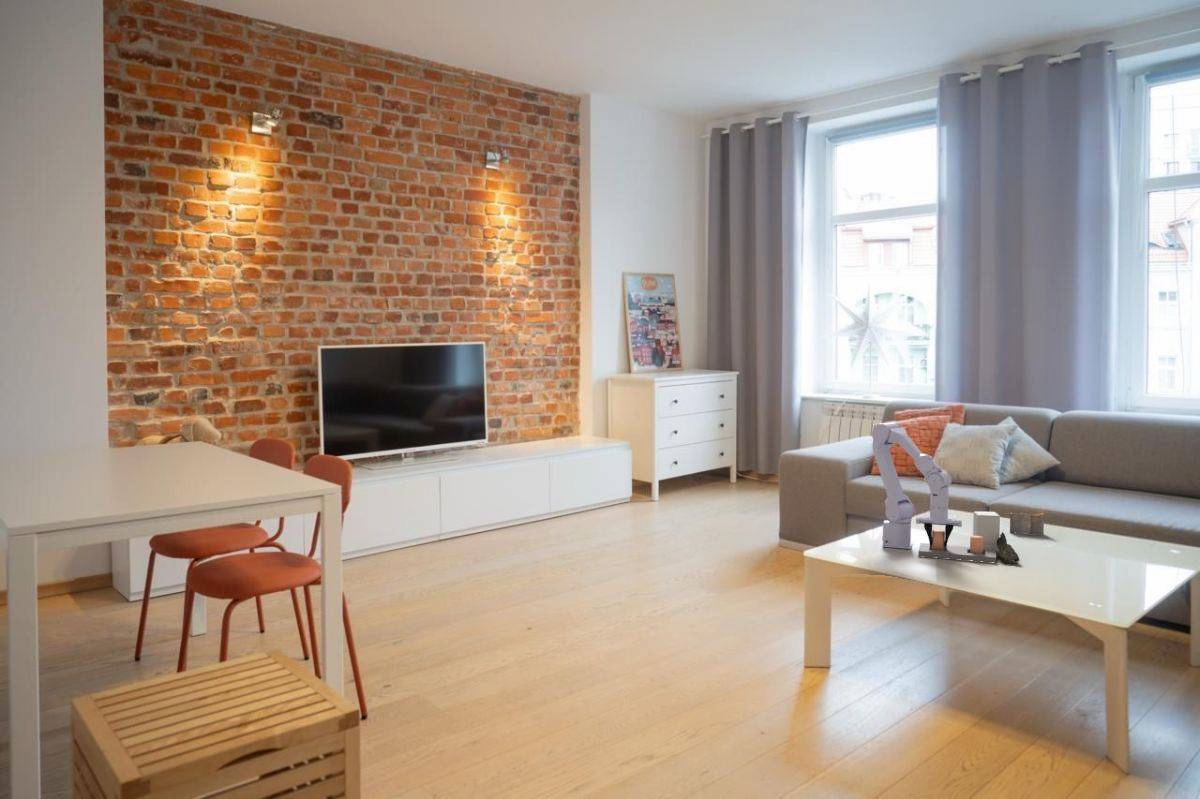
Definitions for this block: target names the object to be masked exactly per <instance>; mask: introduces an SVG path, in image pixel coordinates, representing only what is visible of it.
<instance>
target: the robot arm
mask: <svg viewBox="0 0 1200 799" xmlns="http://www.w3.org/2000/svg"><path fill="white" fill-rule="evenodd" d="M870 434H871V437H872V451H873V456H874V459H875V461H876V465H877V468H878V471H879V474H880V477H881V480H882V483H883V486H884V489H885V493H886V496H887V497H886V499H885V501H884V506H885V516H886V518H887V520H883V526H882V537H881V538H882V547H883V548H893V549H905V550H911V549H912V546H913V543H912V541H911V539H912V536H911V534H912V518H913V517H915V515H916V508H915V505H914V504H913V503H912V502H911V500H910V497H909V496H908V495H907V494H905V493H904V491H903V487H902V485H901V482H900V479H899V475H898V472H897V469H896V467H895V464H894V460H893V457H892V454H891V451H890V450H891V448H892V446H893V445H894V444H895V445H899V446H900V447H901V449H903V450H904V451H905V452H906V453H907V454H908V455H909V456H910V457H911V458H912V459H913V460H914V466H915V467H916V468H917V469H918V470H919V471H920V472H921V474H922V475H923V476H924V478H926V479H927V480H926V482H927V485H928V487H929V493H930V496H929V497H930V499H929V500H930V502H929V503H930V504H929V517H927V516H926V517H921V516H920V517H919V516H917V517H916V518H915V523H916V525H920V524H921V525H923V528H924V530H925V532H926V535H927V538H928V543H929V544H930V546H932V531H933V526H935V525H936V526H945V529H944V531H945V543H944V547H947V545H948V541H949V538H950V536H951V533H952V532H953V530H954V527H959V528H962V526H963V524H962V522H963V520H961V519H952V518H949V488H950V487H949V486H951V485H952V482H953V477H952V474H950V472H949V471H948V470H946V469H943V468H942V467H941V466H939V465H938V463H937V462H935V460H934V457H933V456H932V455H929V454H927V453H923V452H922V451H921V450H920V449H919V448H918V446H917V445H916V444H915V443H914V441H913V440H912V438H911V437H910V436H909V434H908V433H907V431H906V429H905V427H902V425H901V423H899V422H897V421H891V422H885V423H878V424H875V425H874V428H873V429H872V431H871V433H870Z"/></svg>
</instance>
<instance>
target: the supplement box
mask: <svg viewBox="0 0 1200 799" xmlns="http://www.w3.org/2000/svg"><path fill="white" fill-rule="evenodd" d="M972 521H973V522H972V523H973V524H972V527H973V528H972V536H981V537H983V548H987V549H996V551H999V550H998V546H997V540H998V539H999V538H1000V534H1001V533H1000V528H1001V527H1000V525H1001V524H1000V523H1001V515H999V514H998V513H997V512H996V511H973V519H972Z"/></svg>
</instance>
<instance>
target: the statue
mask: <svg viewBox="0 0 1200 799" xmlns="http://www.w3.org/2000/svg"><path fill="white" fill-rule="evenodd" d="M1007 542H1008V541H1007V537H1006V534H1005V532H1003V531H1002V532H1001V533H1000V535H999V539H998V540H997V546H998V550H999V552H998V553H999V555H1000V557H999V558H1000V559H1002V560H1004V561H1005V564H1006V565H1007V564H1011V565H1012V564H1013V562H1014V563H1016V564H1017V563H1018V562H1019V561H1020V556H1019V555H1018V553H1017V552H1016V551H1015V549H1014V548H1013V546H1012V545H1011V544H1009V543H1007Z"/></svg>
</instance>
